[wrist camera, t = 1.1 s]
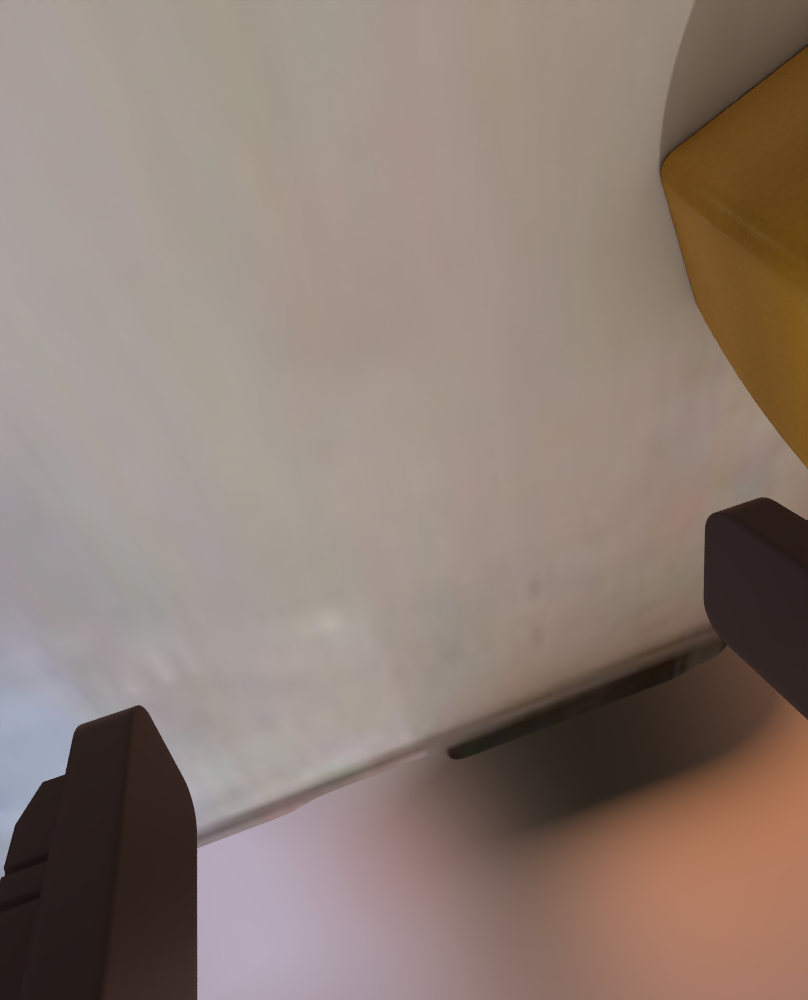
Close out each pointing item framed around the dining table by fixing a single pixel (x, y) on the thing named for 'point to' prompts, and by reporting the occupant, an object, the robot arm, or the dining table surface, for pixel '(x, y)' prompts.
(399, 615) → the dining table surface
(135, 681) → the dining table surface
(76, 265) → the dining table surface
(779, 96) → the flower pot
